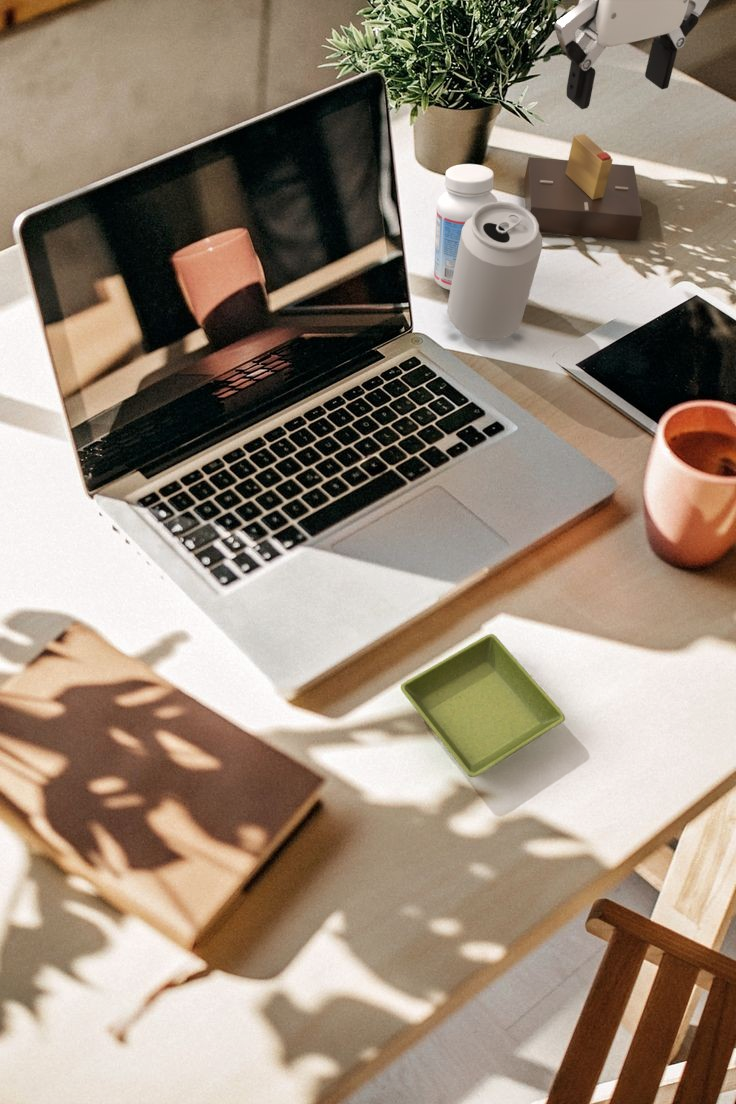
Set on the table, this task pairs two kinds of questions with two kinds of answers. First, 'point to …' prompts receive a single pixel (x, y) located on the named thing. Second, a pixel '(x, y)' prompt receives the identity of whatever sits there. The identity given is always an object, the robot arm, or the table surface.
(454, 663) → the green square dish
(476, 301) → the can
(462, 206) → the pill bottle
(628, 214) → the base
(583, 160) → the tap handle
